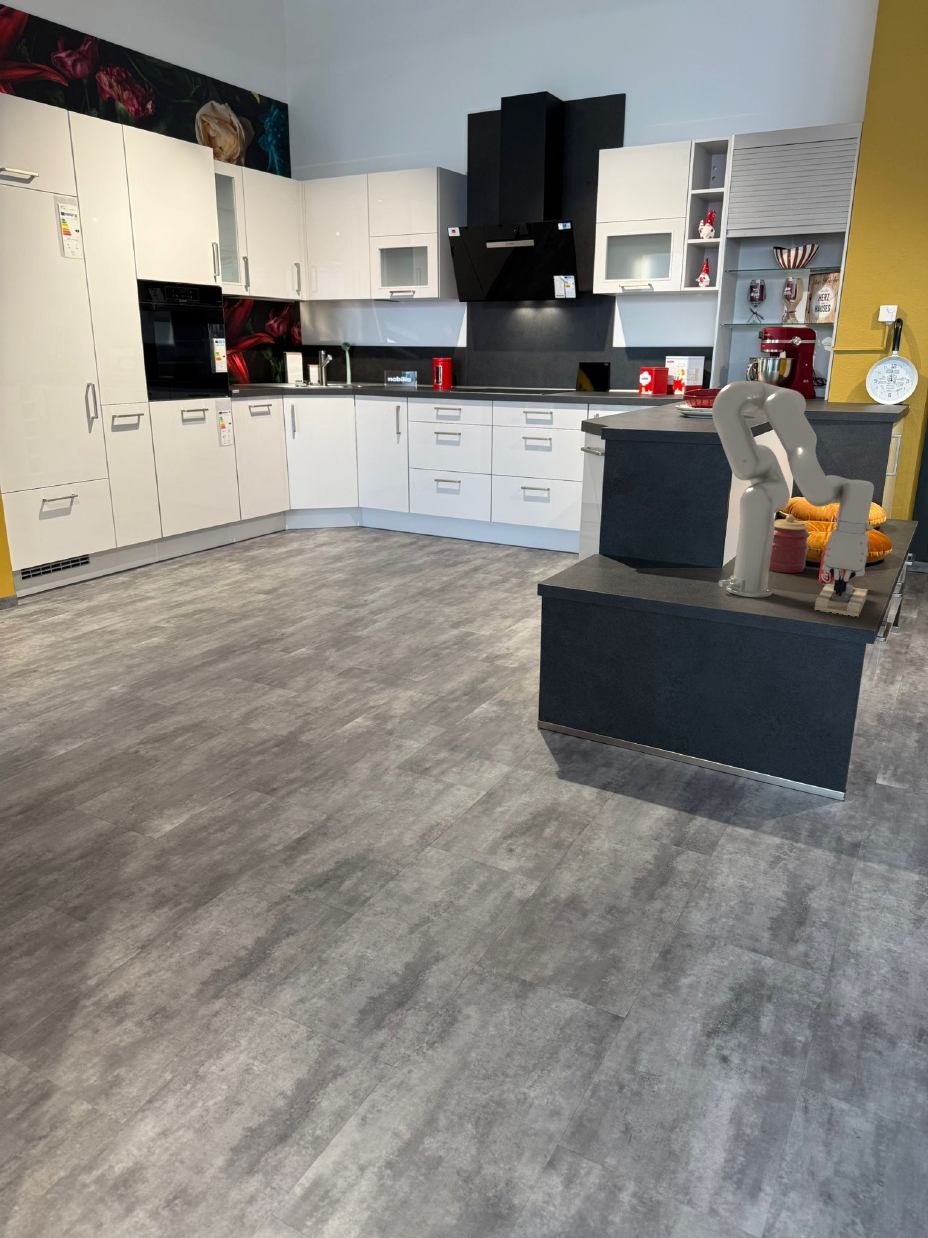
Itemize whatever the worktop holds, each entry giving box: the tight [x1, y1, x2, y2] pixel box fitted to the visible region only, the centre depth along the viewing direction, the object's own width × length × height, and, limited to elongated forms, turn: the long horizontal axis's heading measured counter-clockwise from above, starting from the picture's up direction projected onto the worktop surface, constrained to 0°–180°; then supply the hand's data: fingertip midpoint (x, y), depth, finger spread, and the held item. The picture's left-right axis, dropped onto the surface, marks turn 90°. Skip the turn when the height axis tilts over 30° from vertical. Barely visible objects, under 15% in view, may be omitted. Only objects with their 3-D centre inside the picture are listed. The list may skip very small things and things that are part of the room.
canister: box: [769, 513, 811, 574], centre depth 280 cm, size 13×13×18 cm
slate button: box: [835, 584, 853, 597], centre depth 242 cm, size 4×4×3 cm
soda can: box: [818, 544, 847, 587], centre depth 262 cm, size 7×7×12 cm
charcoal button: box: [832, 594, 848, 603], centre depth 237 cm, size 4×4×3 cm
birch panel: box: [814, 584, 868, 617], centre depth 243 cm, size 20×11×3 cm, turn 151°
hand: (838, 593), depth 237 cm, fingers closed
